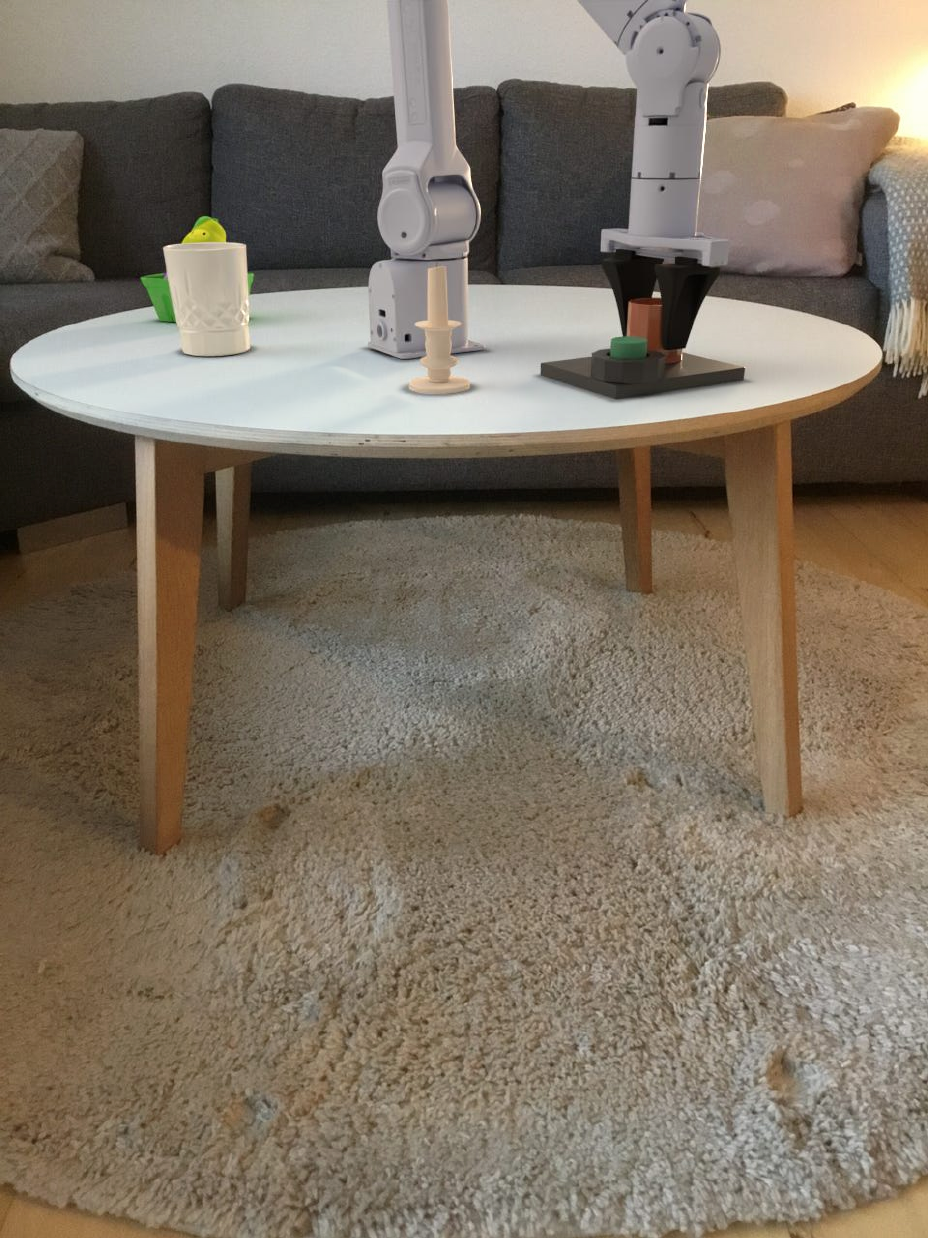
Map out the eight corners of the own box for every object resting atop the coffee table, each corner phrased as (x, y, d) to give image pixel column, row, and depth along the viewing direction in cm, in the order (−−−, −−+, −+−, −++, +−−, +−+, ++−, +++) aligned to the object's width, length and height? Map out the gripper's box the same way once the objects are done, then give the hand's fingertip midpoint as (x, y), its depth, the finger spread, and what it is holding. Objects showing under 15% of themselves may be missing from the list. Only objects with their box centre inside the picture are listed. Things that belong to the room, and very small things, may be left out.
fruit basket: (142, 322, 119) (128, 219, 114) (188, 311, 126) (177, 214, 121) (224, 327, 115) (213, 221, 110) (266, 316, 122) (258, 215, 117)
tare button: (624, 363, 82) (626, 343, 81) (602, 357, 84) (603, 338, 84) (653, 359, 83) (655, 340, 83) (630, 353, 86) (632, 334, 85)
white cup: (271, 349, 103) (262, 245, 98) (205, 361, 97) (192, 251, 93) (226, 340, 107) (215, 240, 103) (161, 351, 102) (147, 246, 98)
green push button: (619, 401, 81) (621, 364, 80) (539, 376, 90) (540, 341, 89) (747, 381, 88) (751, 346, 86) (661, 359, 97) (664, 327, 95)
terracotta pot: (649, 366, 88) (653, 307, 86) (614, 357, 92) (617, 300, 90) (693, 360, 90) (698, 302, 88) (657, 351, 94) (661, 295, 92)
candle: (396, 387, 87) (392, 259, 82) (445, 378, 89) (443, 254, 85) (432, 398, 83) (429, 264, 78) (482, 389, 86) (482, 259, 81)
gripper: (764, 179, 81) (745, 352, 86) (647, 174, 92) (637, 327, 98) (697, 181, 77) (682, 360, 83) (584, 176, 89) (578, 334, 95)
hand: (653, 343), depth 90 cm, fingers closed on terracotta pot, 5 cm apart
